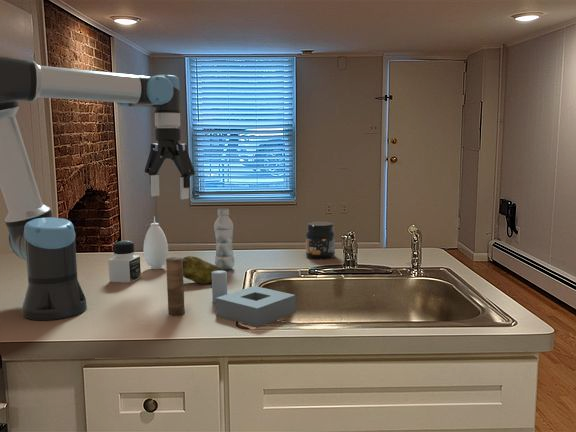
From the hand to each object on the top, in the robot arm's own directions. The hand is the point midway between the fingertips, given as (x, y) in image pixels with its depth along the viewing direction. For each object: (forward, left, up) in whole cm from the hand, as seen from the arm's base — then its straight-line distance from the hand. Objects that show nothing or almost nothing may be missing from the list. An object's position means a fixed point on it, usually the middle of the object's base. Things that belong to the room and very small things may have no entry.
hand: (169, 197), depth 180 cm
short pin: (-9, -31, -25) cm, 41 cm away
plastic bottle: (+17, -6, -25) cm, 31 cm away
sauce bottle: (+4, +13, -25) cm, 28 cm away
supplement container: (+52, -19, -25) cm, 61 cm away
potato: (+1, -12, -25) cm, 28 cm away
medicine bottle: (-11, +9, -25) cm, 29 cm away
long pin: (-23, -30, -25) cm, 46 cm away
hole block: (-11, -46, -25) cm, 54 cm away
